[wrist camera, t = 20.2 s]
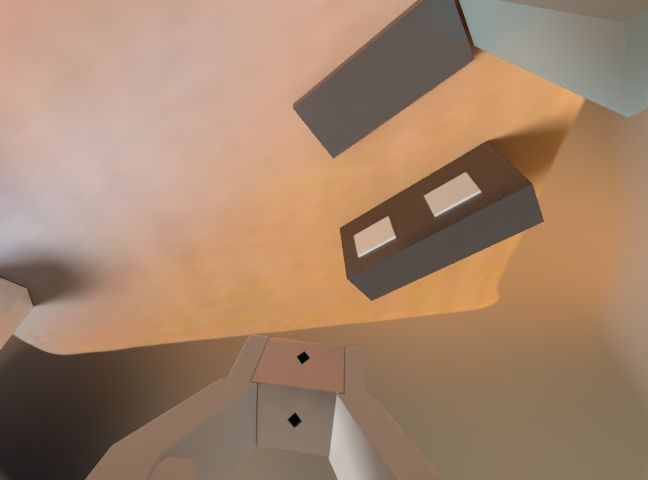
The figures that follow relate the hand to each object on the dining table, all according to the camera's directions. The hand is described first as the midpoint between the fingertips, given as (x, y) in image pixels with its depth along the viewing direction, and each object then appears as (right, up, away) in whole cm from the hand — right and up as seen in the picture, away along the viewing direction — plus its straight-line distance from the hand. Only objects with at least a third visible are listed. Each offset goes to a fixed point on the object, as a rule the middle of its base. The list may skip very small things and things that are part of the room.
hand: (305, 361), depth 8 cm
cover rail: (+5, +17, +18) cm, 25 cm away
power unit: (+11, +7, +27) cm, 30 cm away
